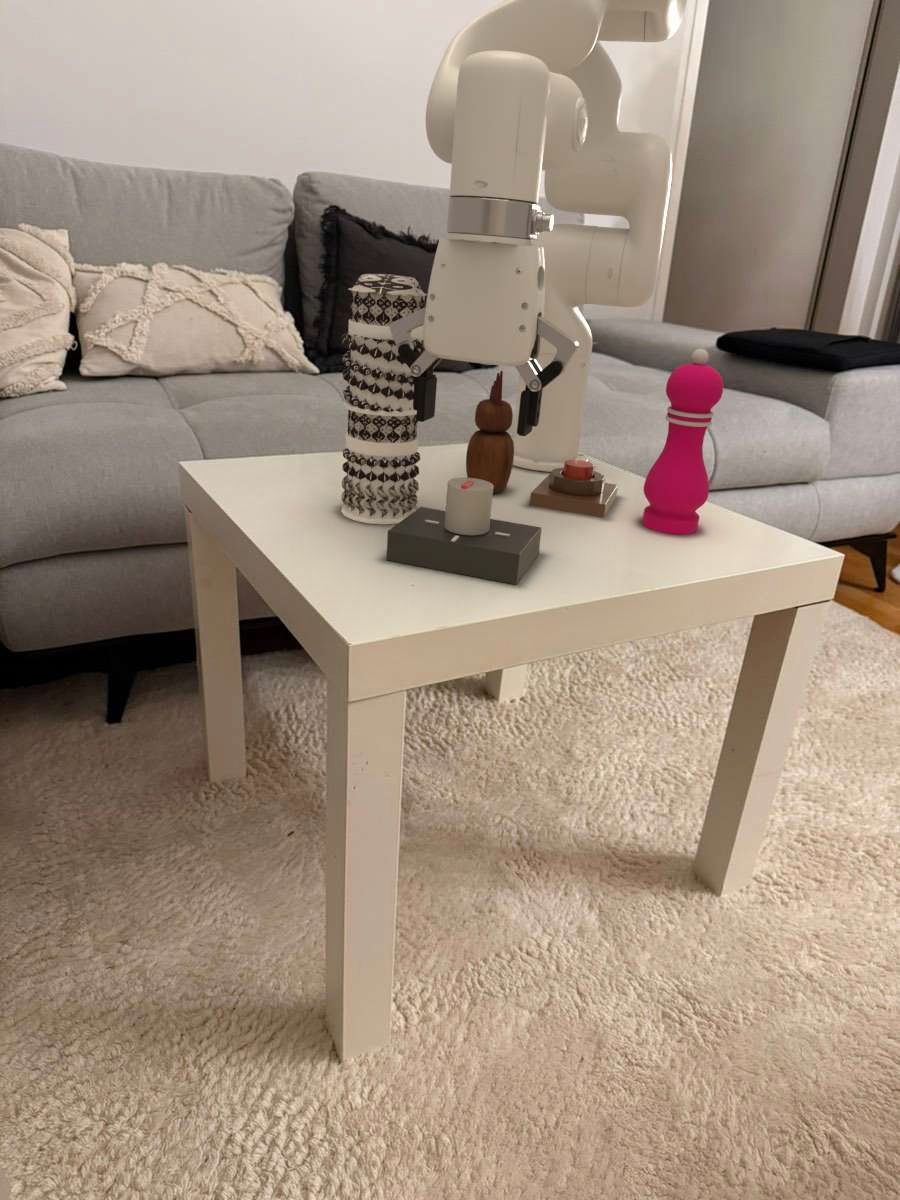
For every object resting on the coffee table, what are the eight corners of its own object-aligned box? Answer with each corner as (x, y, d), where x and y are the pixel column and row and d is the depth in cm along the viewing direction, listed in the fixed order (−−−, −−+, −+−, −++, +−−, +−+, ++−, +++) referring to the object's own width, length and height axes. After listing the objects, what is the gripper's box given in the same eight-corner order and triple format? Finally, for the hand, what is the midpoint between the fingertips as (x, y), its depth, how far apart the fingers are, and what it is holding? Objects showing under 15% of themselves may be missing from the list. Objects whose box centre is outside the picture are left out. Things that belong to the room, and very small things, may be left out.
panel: (418, 533, 90) (420, 505, 89) (538, 555, 86) (542, 525, 85) (386, 560, 82) (387, 529, 81) (516, 584, 78) (519, 552, 77)
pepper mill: (633, 529, 97) (663, 348, 89) (642, 513, 103) (671, 342, 95) (698, 541, 94) (734, 356, 87) (703, 523, 101) (738, 349, 93)
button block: (547, 486, 111) (550, 460, 110) (616, 497, 109) (620, 470, 107) (529, 506, 102) (532, 477, 101) (603, 518, 100) (607, 489, 98)
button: (565, 471, 106) (567, 458, 106) (594, 476, 105) (596, 462, 105) (560, 478, 103) (561, 464, 102) (589, 482, 102) (591, 468, 101)
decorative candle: (361, 529, 90) (369, 277, 80) (324, 504, 97) (328, 270, 87) (435, 520, 94) (451, 281, 85) (394, 497, 101) (405, 274, 92)
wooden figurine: (505, 499, 104) (518, 374, 98) (459, 494, 105) (469, 369, 99) (513, 485, 110) (525, 367, 104) (469, 480, 111) (479, 362, 105)
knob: (452, 518, 85) (456, 472, 84) (494, 525, 84) (499, 478, 82) (438, 530, 82) (441, 482, 80) (481, 538, 80) (486, 489, 79)
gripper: (599, 234, 73) (573, 432, 80) (412, 220, 78) (402, 409, 84) (584, 230, 67) (557, 446, 73) (380, 215, 71) (372, 420, 78)
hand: (474, 426), depth 79 cm, fingers open, 9 cm apart
